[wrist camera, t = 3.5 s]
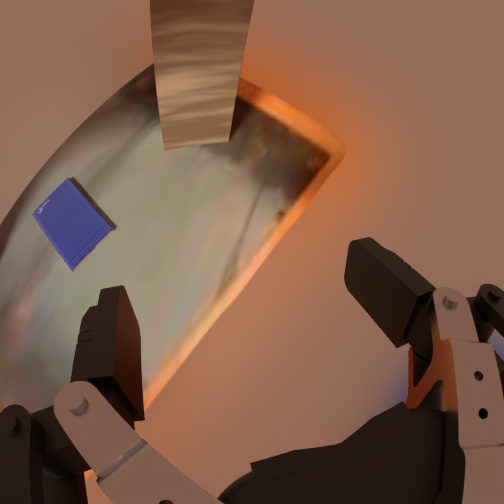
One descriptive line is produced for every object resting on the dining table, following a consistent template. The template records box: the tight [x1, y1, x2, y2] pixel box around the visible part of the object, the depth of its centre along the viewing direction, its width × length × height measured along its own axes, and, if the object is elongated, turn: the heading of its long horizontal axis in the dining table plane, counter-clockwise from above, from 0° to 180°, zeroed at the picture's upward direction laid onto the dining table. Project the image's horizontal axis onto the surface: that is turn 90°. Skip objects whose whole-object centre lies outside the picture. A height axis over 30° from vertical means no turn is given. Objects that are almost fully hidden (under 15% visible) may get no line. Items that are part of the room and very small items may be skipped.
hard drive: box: [32, 178, 115, 272], centre depth 35 cm, size 2×8×12 cm
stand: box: [150, 0, 254, 150], centre depth 28 cm, size 14×10×34 cm
